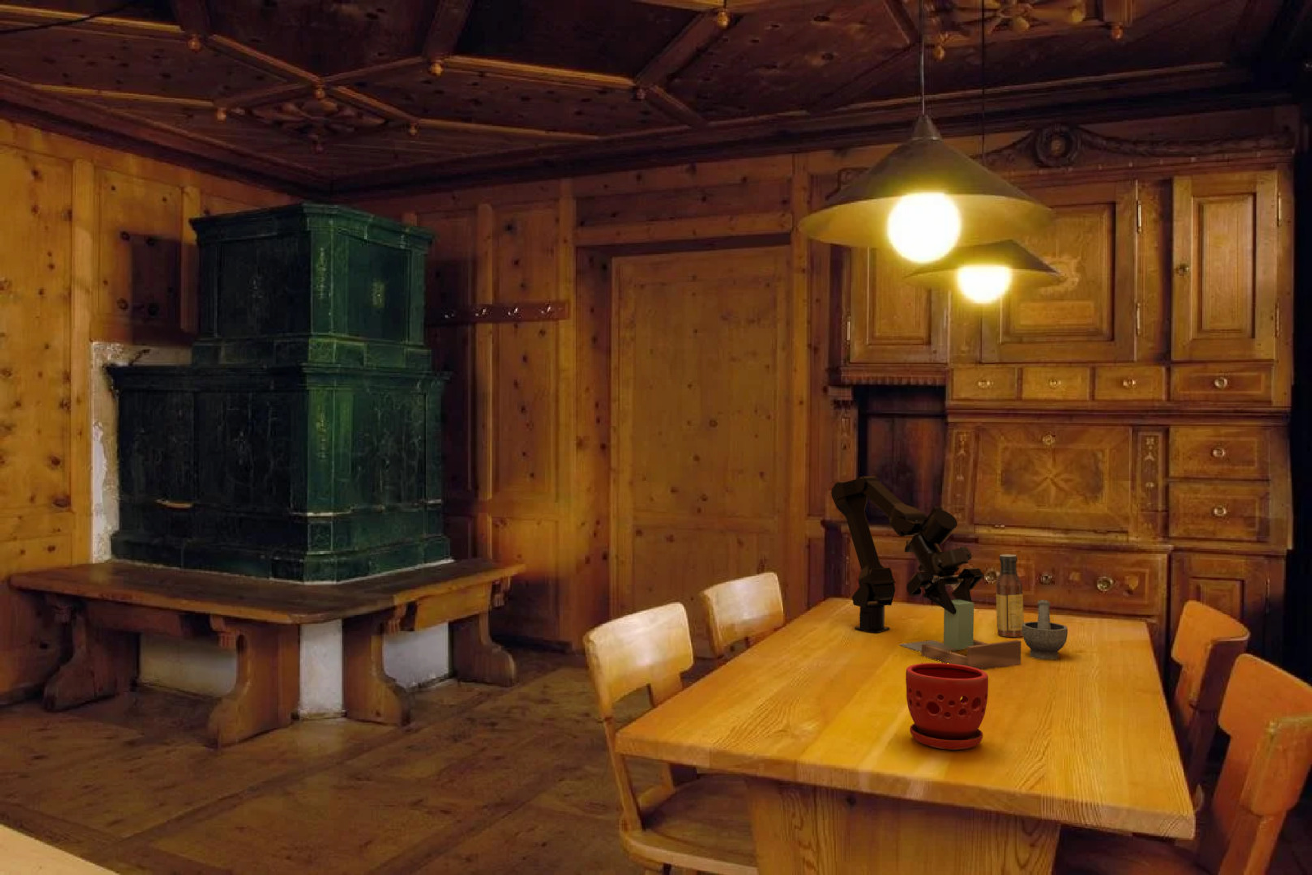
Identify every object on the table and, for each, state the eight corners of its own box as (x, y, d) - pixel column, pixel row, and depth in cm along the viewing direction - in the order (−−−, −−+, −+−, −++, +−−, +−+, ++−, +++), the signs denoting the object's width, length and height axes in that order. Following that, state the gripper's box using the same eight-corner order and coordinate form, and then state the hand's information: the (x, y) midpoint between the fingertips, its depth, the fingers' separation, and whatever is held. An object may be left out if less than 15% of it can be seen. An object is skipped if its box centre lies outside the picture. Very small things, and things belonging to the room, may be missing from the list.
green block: (943, 645, 225) (944, 600, 224) (958, 643, 227) (959, 599, 226) (957, 649, 221) (958, 604, 220) (973, 647, 223) (974, 602, 222)
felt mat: (899, 645, 234) (899, 644, 234) (932, 641, 238) (932, 640, 238) (929, 654, 225) (929, 653, 225) (962, 650, 229) (962, 648, 229)
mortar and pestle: (1068, 663, 218) (1068, 608, 218) (1022, 659, 221) (1023, 605, 221) (1064, 651, 228) (1065, 599, 228) (1021, 648, 231) (1021, 597, 231)
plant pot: (1003, 751, 160) (1004, 677, 160) (928, 757, 157) (928, 681, 157) (962, 726, 173) (962, 657, 172) (891, 731, 170) (892, 661, 170)
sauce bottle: (1026, 634, 246) (1027, 554, 246) (1020, 639, 241) (1021, 557, 240) (998, 631, 249) (999, 552, 249) (992, 636, 244) (993, 555, 244)
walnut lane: (921, 655, 224) (921, 633, 224) (969, 649, 230) (970, 627, 230) (970, 671, 210) (971, 647, 210) (1020, 664, 217) (1021, 641, 217)
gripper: (915, 536, 222) (949, 594, 213) (978, 532, 231) (1014, 588, 221) (891, 566, 230) (924, 623, 220) (953, 561, 238) (987, 616, 228)
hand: (963, 612), depth 222 cm, fingers closed on green block, 4 cm apart
